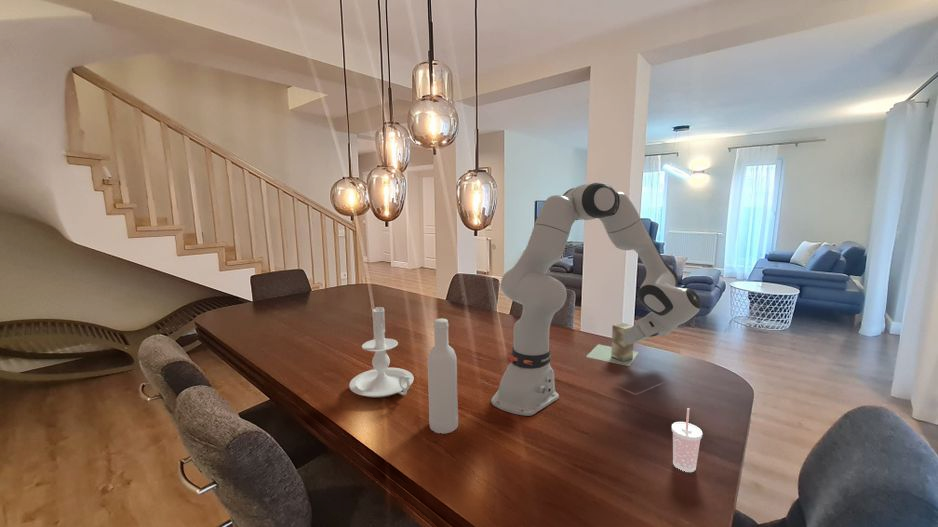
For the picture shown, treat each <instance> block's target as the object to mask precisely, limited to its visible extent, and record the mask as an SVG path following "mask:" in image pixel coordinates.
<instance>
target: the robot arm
mask: <svg viewBox="0 0 938 527" xmlns="http://www.w3.org/2000/svg"><path fill="white" fill-rule="evenodd" d="M540 208H541V209H539V210H540V211H539V213H538V214H537V217H536V219H535V222H534V224H533V228H532V231H531V234H530V237H529V239H528V241H527V242H528V243H527V244H526V247H525V250H524V251H523V253H522V255H521V256H520V258H518V260H517V262H516V263H515V264H514V266H513V267H512V268H510V269H509V270H508V271H506V272H504V274H503V276H502V278H501V281H500V289H501V291H502V293H503V294H504V295H505V296H506V297H507V298H508V299H510V300H511V301H512V302H516V303H518V304H520V305H522V312H521V316H520V318H519V319H518V320H516V321H515V323H514V325H513V347H512V349H511V353H510V354H507V356H506V361H507V362H509V365H507V368H506V370H505V372H504V374H503V376H502V378H501V380H500V382H499V387H498V390H497V391H496V393H495V394H494V395H493V396H492V397H491V399H490V400H491V401H490V403H491V404H492V406H494V407H496V408H497V409H500V410H502V411H505V412H507V413H510V414H514V415H518V416H519V415H520V416H527V417H528V416H530V417H531V416H533V415H535V414H536V413H538V412H539V411H541V410H543V409H544V408H546V407H548V406H550V405H551V404H552V403H554V402H555V401H557V400H559V398H560V395H559V393H558V392H557V391H556V386H555V372H554V370H553V368H552V366H551V364H550V362H551V349H550V329H551V324H552V320H553V318H554V315H555V314H556V313H557V312H558V311H560V310H561V309H562V308H563V307H564V305H565V303H566V302H567V296H568V295H567V289H566V286H565V284H564V283H562V281H560V280H559V279H557V278H555V277H553V276H551V275H548V274H547V272H548V271H549V269H550V268H551V267H552V266H553V265H555V264H556V263H558V262H559V261H560V260H561V259H562V257H563V255H564V252H565V248H566V245H567V243H568V239H569V237H570V234H571V229H572V226H573V225H574V223H575V222H576V221H579V220H580V221H581V220H583V221H584V220H585V221H590V220H595V219H599V220H600V221H601V222H602V224H603V226H604V229H605V231H606V234H607V236H608V238H609V239H610V241H611V243H612V244H613V245H614V246H615V248H617V249H619V250H623V251H631V250H633V251H635V252H636V254H637V255H638V257H639V259H640V261H641V262H642V264H643V266H644V267H645V271H646V276H645V279H644V280H643V282H642V284H641V285H640V287H639V289H638V291H637V298H638V301H639V303H640V304H641V305H643V306H644V308H647V309H648V310H650V312H648V314H646V315H645V316H643V317H641V318H639V319H637V320H636V324H634V325H632V326H633V327H631V328H630V329H629V330H628V331H627V332H626V333H625V334H624V335H623V338H624V340H625V341H626V343H627V344H628V345H629V344H633V345H635V344H637V343H640V341H644V340H648V339H651V338H653V337H666V336H667V335H669V334H670V333H672V332H673V331H675V329H677V328H678V327H679V326H680V325H682V324H685V323H686V322H688V321H689V320H691V319H692V318H693V317H695V316H696V315H697V314H698V313H699V312H700V311H701V307H702V300H701V299H700V297H699V295H698V293H696V291H695V290H694V289H691V288H689V287H688V288H685V287H684V288H682V287H678V285H679V276H678V275H677V273H676V271H675V270H674V269H673V268H672V267H670V266H669V265H668V264H667V262H665V260H664V258H663V256H662V254H661V252H660V250H659V249H658V247H657V245H656V243H655V242H654V240H653V239H652V236H651V235H650V234H649V233H648V231H647V229H646V227H645V225H644V223H643V221H642V219H641V216H640V214H639V212H638V211H637V209H636V207H635V205H634V204H633V202H632V201H631V199H630V197H628V195H627V194H626V193H624V192H622V191H616V190H615V189H614V188H613V187H612V186H611V185H609V184H607V183H605V182H593V183H587V184H581V185H579V186H576V187H572V188H570V189H568V190H567V191H565V193H563V194H562V195H561V194H554V195H551V196H548V197H547V199H546V200H545V201H544V203H543V205H542V207H540Z"/></svg>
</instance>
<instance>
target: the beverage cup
mask: <svg viewBox="0 0 938 527" xmlns="http://www.w3.org/2000/svg"><path fill="white" fill-rule="evenodd" d="M690 409H691V408H689V407H687V408H686V417H685V418H686V421H675V422H673V423H671V432H672V465H673V466H674V467H675V468H676V469H677V468H678V470H679V469H680V471H681V470H682V472H684V471H685V473H693V472H695V471H696V468H697V464H698V459H699V458H698V457H699V449H700V443H701V439H702V438H703V431H702V429H701V428H700V427H698V426H697V425H695V424H692V423H689V422H690V420H689V419H690Z"/></svg>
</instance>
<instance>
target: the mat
mask: <svg viewBox="0 0 938 527" xmlns="http://www.w3.org/2000/svg"><path fill="white" fill-rule="evenodd" d="M611 350H612V346H608V345H604V344H600V343H598V344H597V345H596V346H595V347H594V348H593V349H592V350H591V351H590V352H588V353H587V355H586V356H585V357H586V358H590V359H594V360H599V361H603V362H606V363H607V362H609V363H612V364H613V363H614V364H617V365H621V366H626V367H627V366H628V367H630V366H631V364H632V362H634V360H635V359H636V357H637V355H638V354H639V351H635V350H633V359H631V360H629V361H626V362H621V361H619V360H616V359H614V358H611Z"/></svg>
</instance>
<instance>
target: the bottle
mask: <svg viewBox="0 0 938 527" xmlns="http://www.w3.org/2000/svg"><path fill="white" fill-rule="evenodd" d="M433 328H434V329H433V330H434V345H433V347H432V348H431V349H430V350H429V353H428V355H427V358H426V359H427V360H426V361H427V386H428V389H427V390H428V414H429V415H428V422H429V428H430V430H431V431H432V432H433V431H434V433H436V434H440V433H441V435H442V434H443V435H444V434H446V435H447V434H449V433H453V432H454V431H455V430H457V429H458V426H459V409H458V408H459V406H458V405H459V404H458V403H459V402H458V400H459V399H458V365H457V364H458V363H457V361H458V360H457V355H456V351H455V349H454V348H453V347H452V346H450V345H449V320H448V319H447V318H436V319H435V320H434V321H433Z"/></svg>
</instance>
